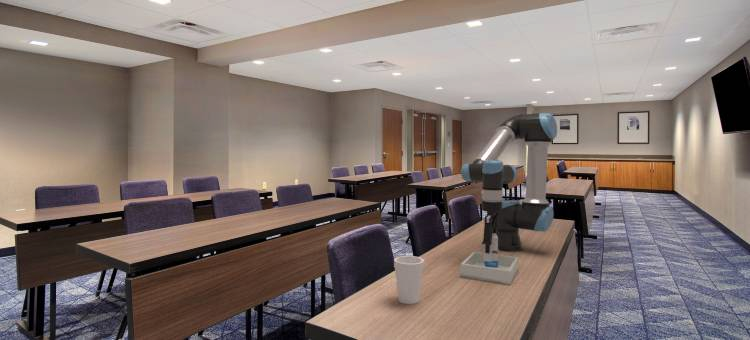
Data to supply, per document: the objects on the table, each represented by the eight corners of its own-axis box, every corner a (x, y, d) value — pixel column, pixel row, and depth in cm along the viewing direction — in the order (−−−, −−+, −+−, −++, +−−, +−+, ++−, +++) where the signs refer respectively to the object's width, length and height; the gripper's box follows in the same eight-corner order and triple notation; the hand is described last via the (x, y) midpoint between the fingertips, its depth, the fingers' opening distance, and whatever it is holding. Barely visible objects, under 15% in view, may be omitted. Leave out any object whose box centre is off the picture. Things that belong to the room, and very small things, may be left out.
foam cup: (392, 294, 130) (392, 256, 129) (419, 294, 130) (420, 255, 130) (396, 306, 120) (396, 264, 119) (426, 305, 121) (426, 264, 120)
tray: (473, 263, 166) (473, 251, 165) (518, 269, 157) (518, 257, 157) (460, 277, 148) (460, 264, 148) (510, 285, 139) (510, 271, 139)
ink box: (498, 268, 148) (498, 237, 147) (484, 267, 149) (485, 236, 148) (495, 261, 156) (496, 232, 155) (482, 261, 157) (483, 231, 156)
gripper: (487, 197, 162) (486, 250, 164) (475, 203, 143) (473, 263, 144) (506, 198, 159) (505, 252, 160) (496, 204, 139) (494, 266, 141)
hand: (490, 258), depth 152 cm, fingers closed on ink box, 9 cm apart
